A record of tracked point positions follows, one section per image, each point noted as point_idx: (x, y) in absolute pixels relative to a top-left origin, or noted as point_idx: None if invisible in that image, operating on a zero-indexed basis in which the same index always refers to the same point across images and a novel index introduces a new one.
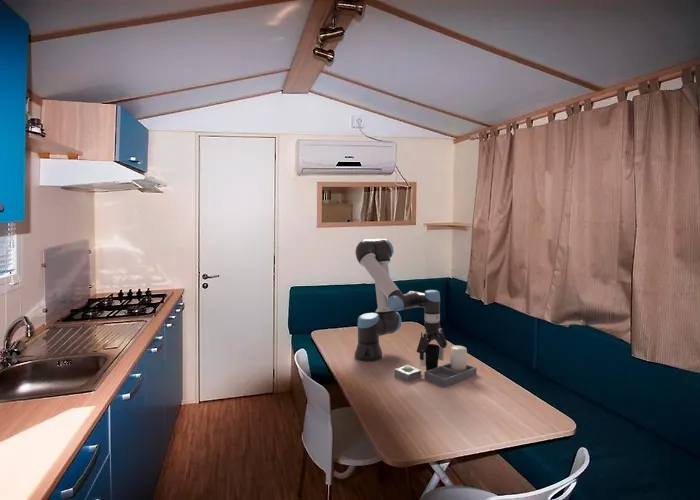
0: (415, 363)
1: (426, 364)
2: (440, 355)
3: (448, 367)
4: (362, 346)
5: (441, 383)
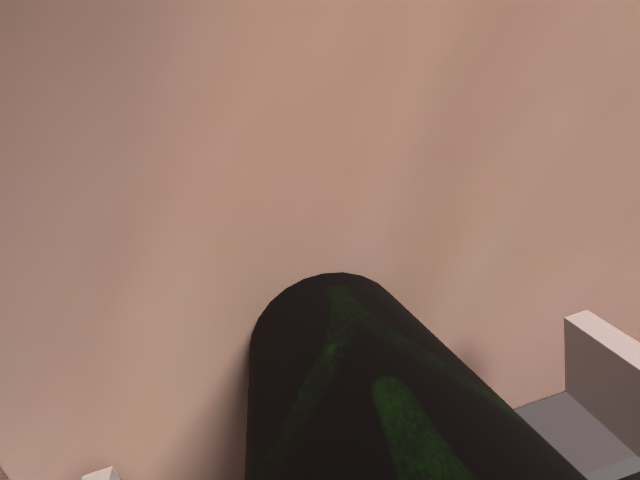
0: (236, 5)
1: (247, 412)
2: (629, 404)
3: None
4: None
5: None
